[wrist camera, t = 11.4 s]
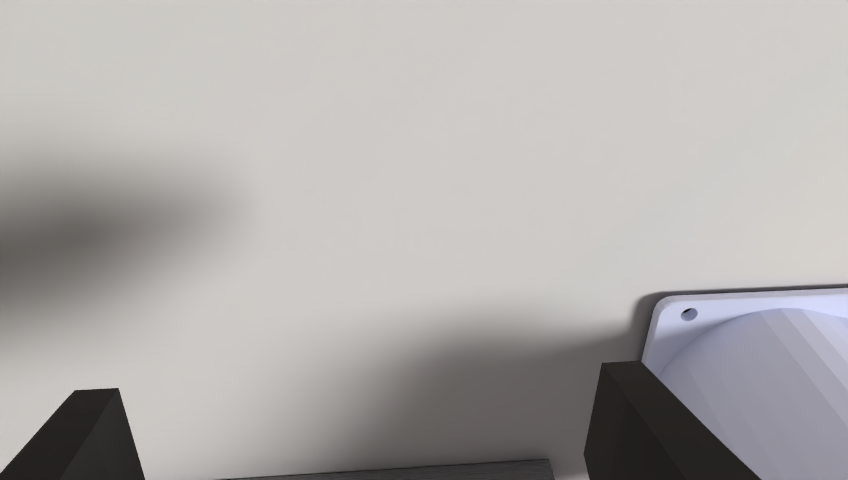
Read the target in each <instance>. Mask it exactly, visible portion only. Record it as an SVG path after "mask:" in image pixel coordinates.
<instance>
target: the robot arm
mask: <svg viewBox="0 0 848 480" xmlns="http://www.w3.org/2000/svg"><path fill="white" fill-rule="evenodd" d="M689 308H691V310H689V311H688V312H686V313H682V312H683V311H685V310H686V309H689ZM584 457H585V462H586V466H587V470H588V474H589V478H590V480H848V288H835V289H813V290H790V291H767V292H745V293H722V294H699V295H677V296H669V297H665V298H663V299H661V300H660V301H659V302H658V303H657V304H656V306H655V308H654V311H653V315H652V319H651V323H650V327H649V331H648V336H647V340H646V344H645V348H644V352H643V356H642V360H641V361H629V362H610V363H602V366H601V371H600V376H599V381H598V386H597V391H596V395H595V400H594V405H593V410H592V415H591V420H590V425H589V430H588V435H587V440H586V445H585V450H584ZM0 480H145V477H144V474H143V471H142V467H141V464H140V460H139V457H138V454H137V450H136V447H135V443H134V440H133V436H132V433H131V430H130V426H129V423H128V419H127V416H126V412H125V409H124V406H123V402H122V399H121V395H120V392H119V388H111V389H92V390H75V391H74V392H73V393H72V394H71V395H70V396H69V397H68V398H67V399H66V400H65V401H64V402H63V404H62V405H61V406H60V407H59V408H58V409H57V410H56V411H55V412H54V414H53V415H52V416H51V417H50V418H49V419H48V420H47V421H46V423H45V424H44V425H43V426H42V427H41V428H40V429H39V431H38V432H37V433H36V434H35V435H34V436H33V437H32V438H31V440H30V441H29V442H28V443H27V444H26V445H25V446H24V447H23V449H22V450H21V451H20V452H19V453H18V454H17V455H16V456H15V458H14V459H13V460H12V461H11V462H10V463H9V464H8V465H7V466H6V468H5V469H4V470H3V471H2V472H1V473H0Z"/></svg>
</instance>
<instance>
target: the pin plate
mask: <svg viewBox="0 0 848 480" xmlns="http://www.w3.org/2000/svg"><path fill="white" fill-rule="evenodd" d="M233 480H555V479H554V476H553V473H552V469H551V466H550V463H549V459H547V460H531V461H515V462H499V463H484V464H468V465H452V466H437V467H421V468H405V469H390V470H374V471H358V472H343V473H327V474H311V475H296V476H280V477H264V478H249V479H233Z"/></svg>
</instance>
